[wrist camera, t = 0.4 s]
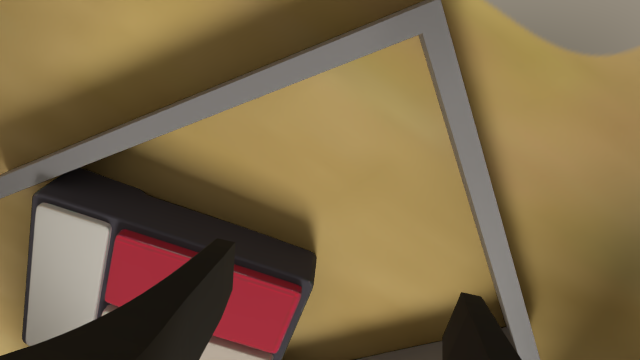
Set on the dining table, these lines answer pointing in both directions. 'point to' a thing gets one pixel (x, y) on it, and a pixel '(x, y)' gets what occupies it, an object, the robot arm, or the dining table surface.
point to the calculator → (152, 265)
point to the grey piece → (305, 64)
